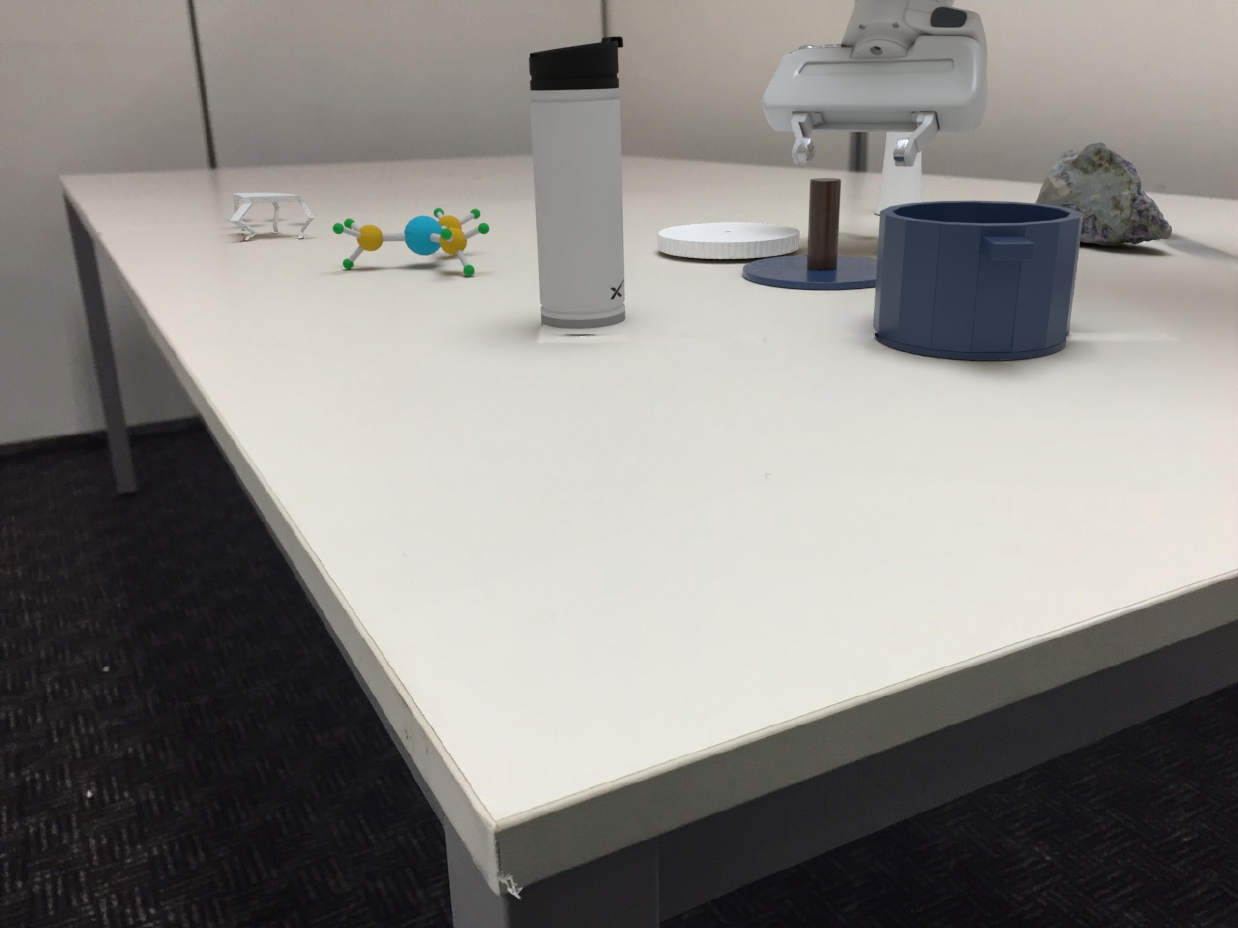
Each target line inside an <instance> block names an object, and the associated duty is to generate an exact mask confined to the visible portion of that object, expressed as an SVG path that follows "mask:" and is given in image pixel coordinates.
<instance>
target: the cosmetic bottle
mask: <svg viewBox="0 0 1238 928" xmlns="http://www.w3.org/2000/svg"><path fill="white" fill-rule="evenodd" d="M912 133H913V132H886V136H885V146H884V155H883V164H882V171H881V178H880V183H879V188H878V190H879V191H878V195H877V199H876V204H875V208H874V214H876V215H878V216H880V211H882V210H884V209H886V208H888V207H890V206H896V205H902V204H908V203H920V202H924V197H923V180H922V179H923V178H922V176H923V175H922V173H923V172H922V169H923V168H922V161H923V160H922V159H923V157H922V153H923V150H922V151H920V152H919V153H917V155H916V158H915V162H914V165H913V166H912V167H903V166H895V160H894V158H893V153H894V149H895V148H896V143H897V140H898V139H907V138H908V137H909V136H910V135H911V134H912Z"/></svg>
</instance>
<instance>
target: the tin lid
mask: <svg viewBox="0 0 1238 928" xmlns="http://www.w3.org/2000/svg"><path fill="white" fill-rule="evenodd" d="M841 188H842V179H841V178H835V177H818V178H816V177H815V178H811V179H809V197H808V198H809V199H808V201H809V202H808V222H807V223H808V227H807V228H808V229H807V253H806V254H800V255H785V256H773V257H766V258H762V259H757V260H753V261H751V262H748V263H746V264H744V266H742V276H743V278H744V279H745V280H748V281H750V282H753V283H755V284H760V285H765V286H771V287H778V288H786V289H794V290H795V289H796V290H816V291H817V290H818V291H819V290H822V291H823V290H825V291H827V290H829V291H830V290H831V291H832V290H836V291H837V290H855V289H856V290H857V289H866V288H876V272H877V258H874V257H865V256H856V255H841V254H839V236H840V235H839V233H840V232H839V231H840V215H841V214H840V211H841V190H842V189H841ZM838 254H839V255H838Z"/></svg>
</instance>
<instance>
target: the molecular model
mask: <svg viewBox="0 0 1238 928" xmlns="http://www.w3.org/2000/svg"><path fill="white" fill-rule="evenodd" d="M433 215H434V217H435V218H434V217H432V216H429V215H418V216H414V217H413V218H412V219H410V220H409V221H408V223H407V224H406V225H405V228H404V231H403V232H383V231H382V229H380V228H379V227H378V226H376V225H375V224H365V225H362V226H360V225H358V224H357V223H356V221H355V220H354V219H353V218H346V219H345V220H344V221H343V224H342V223H340V222H336V223H334V224H333V226H332V231H333V233H334V234H336V235H342V234H346V235H348V236H351V237H355V238H356V242H357V244H358V247H357V248H356V249H355V250H354V251H353V252H352V254H351V255H350V256H349V257H347V258H344V259H343V260H342V266H343V268H344V269H346V270H351V269H353V268H354V266H355V261H356V260H357V259H358V258H359V256H360V255H361V254H362V253H363V252H364V251H367V252H375V251H377V250H378V251H379V249H380V248H381V247H382V246H383V243H384V242H404V243H405V244H406V246H407V248H408V249H409V250H410V251H411V252H412V253H414V254H415V255H418V256H425V257H426V256H431V255H434V254H435V253H437V252H438V251H439V250H440V249H442V252H444V253H445V254H447V255H450V256H457V258H458V260H459V261H460V263H461V265H462V267H463V270H462V272H463V274H464V275H465V276H467V277H471V276H473V275H474V274H475V267H474V266H473V265H472V264H470V263H469V261H468V259H467V257H466V255H465V254H464V251H465V249H467V245H468V240H469V239H472V238H473V237H475V236H476V235H479V234H480V235H486V234H488V233H489V232H490V226H489V224H488V223H486V222H480V223H479V224H478V226H477V227H475V228H472V229H470V230H469V231H466V232H464V231H463V230H462V229H463V227H462V226H464V224H466V223H468V222H470V221H473V220H477V219H479V218H480V217H481V211H480V209H478V208H473V209H471V210H470V212H469V214H467V215H465V216H463V217H461V218H460V219H458V218H457V217H456V216H454V215H451V214H450V215H449V214H448V215H447V214H446V215H445V211H444V209H442V208H441V207H436V208H435V209H434V210H433ZM436 219H438V220H436Z"/></svg>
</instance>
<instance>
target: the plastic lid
mask: <svg viewBox="0 0 1238 928" xmlns="http://www.w3.org/2000/svg"><path fill="white" fill-rule="evenodd" d="M656 235H657V238H656V240H657V244H656V245H657V250H658V252H661V253H663V254H666V255H670V256H674V257H676V256H677V257H683V258H694V259H707V260H708V259H709V260H710V259H713V260H716V259H718V260H723V259H724V260H730V259H731V260H736V259H740V260H741V259H755V258H757V259H758V258H768V257H778V256H782V255H786V254H790V253H793V252H795V251H798V250H799V249H800V230H799V229H797V228H795V227H793V226H788V225H783V224H775V223H764V222H761V223H760V222H746V221H745V222H742V221H739V222H736V221H733V222H730V221H726V222H724V221H721V222H703V223H702V222H701V223H693V224H692V223H690V224H683V225H682V224H681V225H674V226H670V227H667V228H662V229H660V230H658V231H657V233H656Z"/></svg>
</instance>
